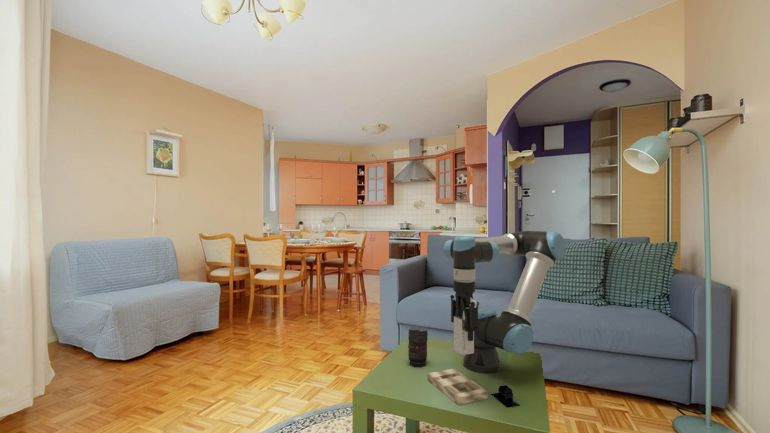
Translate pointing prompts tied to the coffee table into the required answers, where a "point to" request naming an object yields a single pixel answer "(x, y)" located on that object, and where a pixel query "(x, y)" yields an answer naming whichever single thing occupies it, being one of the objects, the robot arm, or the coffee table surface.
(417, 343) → the camera lens
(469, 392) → the plate
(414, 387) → the coffee table surface
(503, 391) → the black mounting bracket
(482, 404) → the coffee table surface
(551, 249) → the robot arm
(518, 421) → the coffee table surface
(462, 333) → the square peg
